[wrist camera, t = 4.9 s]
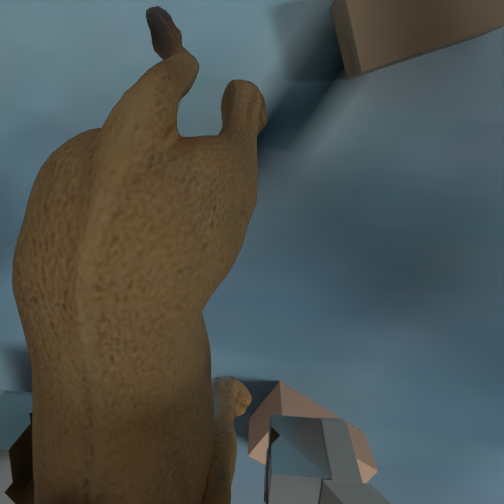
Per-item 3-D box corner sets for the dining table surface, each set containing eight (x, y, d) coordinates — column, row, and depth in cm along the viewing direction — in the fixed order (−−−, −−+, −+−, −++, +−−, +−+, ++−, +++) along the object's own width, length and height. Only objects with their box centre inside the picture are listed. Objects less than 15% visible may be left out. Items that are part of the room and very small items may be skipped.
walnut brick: (469, -40, 17) (510, -74, 14) (480, 35, 18) (521, 18, 15) (329, 8, 18) (342, -14, 15) (346, 80, 19) (361, 71, 16)
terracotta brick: (363, 430, 24) (377, 471, 21) (332, 464, 25) (341, 508, 22) (279, 379, 23) (282, 414, 20) (249, 416, 24) (248, 455, 21)
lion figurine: (299, 507, 13) (357, 1172, 5) (138, 513, 14) (-87, 1145, 5) (264, 4, 10) (231, -1017, 1) (49, 28, 10) (-1184, -656, 2)
